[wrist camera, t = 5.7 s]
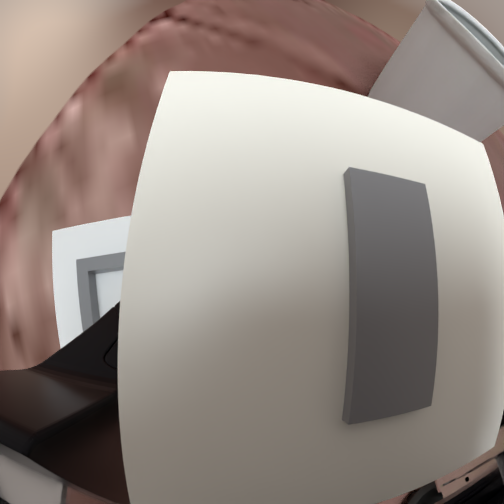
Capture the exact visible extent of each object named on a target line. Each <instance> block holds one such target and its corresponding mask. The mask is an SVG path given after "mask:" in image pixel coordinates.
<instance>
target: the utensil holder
mask: <svg viewBox="0 0 504 504" xmlns="http://www.w3.org/2000/svg"><path fill="white" fill-rule="evenodd" d="M368 97H369V98H372V99H376V100H379V101H382V102H385V103H388V104H391V105H394V106H397V107H400V108H403V109H406V110H408V111H411V112H414V113H416V114H419V115H421V116H424V117H427V118H429V119H431V120H434V121H436V122H438V123H441V124H443V125H445V126H448V127H450V128H452V129H454V130H456V131H458V132H460V133H463V134H465V135H467V136H469V137H471V138H473V139H474V140H476V141H478V142H481V141H483V140H484V139H485V138H487V137H488V136H490V135H491V134H492V133H494V132H495V131H497V130H498V129H499V128H500V127H502V126H503V125H504V47H503V46H502V45H501V44H500V42H499V41H498V40H497V39H496V38H495V37H494V36H493V35H492V34H491V33H490V32H489V31H488V30H487V29H486V28H485V27H484V26H483V25H481V24H480V23H479V22H478V21H477V20H476V19H475V18H473V17H472V16H471V15H470V14H469V13H467V12H466V11H465V10H464V9H462V8H461V7H460V6H458V5H457V4H455V3H454V2H452V1H451V0H426V5H425V7H424V8H423V10H422V11H421V13H420V14H419V16H418V18H417V19H416V20H415V22H414V23H413V25H412V26H411V28H410V29H409V31H408V32H407V34H406V35H405V37H404V38H403V40H402V42H401V43H400V45H399V46H398V48H397V49H396V51H395V52H394V54H393V55H392V57H391V58H390V60H389V61H388V63H387V64H386V66H385V68H384V69H383V71H382V72H381V74H380V75H379V77H378V79H377V80H376V82H375V83H374V85H373V87H372V88H371V90H370V92H369V95H368Z"/></svg>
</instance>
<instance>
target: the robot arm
mask: <svg viewBox="0 0 504 504" xmlns="http://www.w3.org/2000/svg"><path fill="white" fill-rule="evenodd" d="M119 312H120V301H119V302H118V303H117V304H116V305H115V307H112V308H111V309H110V310H109V311H108V312H107V313H105V314H104V315H103V316H102V317H101V318H100V319H98V320H97V321H96V322H95V323H94V324H93V325H91V326H90V327H89V328H87V329H86V330H85V331H84V332H82V333H81V334H80V335H78V336H77V337H76V338H74V339H73V340H72V341H70V342H69V343H68V344H66V345H65V346H64V347H62V348H61V349H60V350H58V351H57V352H56V353H54V354H53V355H52V356H50V357H49V358H48V359H46V360H45V361H44V362H42V363H40V364H38V365H37V366H34V367H31V368H28V369H22V370H4V371H0V504H130V500H129V494H128V489H127V483H126V476H125V470H124V462H123V454H122V445H121V435H120V422H119V406H118V330H119ZM435 483H436V487H437V490H438V493H439V492H442V495H443V498H444V499H442V500H440V501H438V502H436V503H435V504H504V411H503V415H502V420H501V424H500V428H499V432H498V435H497V439H496V442H495V446H494V447H493V448H491V449H490V450H488V451H487V452H485V453H484V454H482V455H481V456H479V457H477V458H476V459H474V460H472V461H471V462H469V463H467V464H466V465H464V466H462V467H460V468H458V469H457V470H455V471H453V472H451V473H449V474H447V475H445V476H443V477H441V478H439V479H437V480H435Z"/></svg>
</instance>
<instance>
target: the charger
mask: <svg viewBox="0 0 504 504" xmlns="http://www.w3.org/2000/svg"><path fill="white" fill-rule="evenodd" d="M118 406H119V422H120V435H121V445H122V454H123V462H124V470H125V476H126V483H127V489H128V494H129V500H130V504H376V503H379V502H382V501H385V500H388V499H391V498H394V497H397V496H399V495H402V494H405V493H407V492H410V491H412V490H415V489H417V488H419V487H422V486H424V485H426V484H428V483H431V482H433V481H435V480H437V479H439V478H441V477H443V476H445V475H447V474H449V473H451V472H453V471H455V470H457V469H458V468H460V467H462V466H464V465H466V464H467V463H469V462H471V461H472V460H474V459H476V458H477V457H479V456H481V455H482V454H484V453H485V452H487V451H488V450H490V449H491V448H493V447H494V446H495V442H496V439H497V435H498V432H499V428H500V424H501V420H502V415H503V411H504V216H503V211H502V206H501V202H500V198H499V194H498V190H497V186H496V183H495V179H494V176H493V172H492V169H491V166H490V163H489V160H488V157H487V154H486V151H485V148H484V145H483V144H482V143H480V142H478V141H476V140H474V139H473V138H471V137H469V136H467V135H465V134H463V133H460V132H458V131H456V130H454V129H452V128H450V127H448V126H445V125H443V124H441V123H438V122H436V121H434V120H431V119H429V118H427V117H424V116H421V115H419V114H416V113H414V112H411V111H408V110H406V109H403V108H400V107H397V106H394V105H391V104H388V103H385V102H382V101H379V100H376V99H372V98H369V97H365V96H362V95H358V94H355V93H351V92H347V91H343V90H339V89H335V88H330V87H326V86H321V85H316V84H311V83H306V82H301V81H295V80H289V79H282V78H276V77H268V76H260V75H251V74H240V73H226V72H205V71H170V73H169V75H168V78H167V81H166V84H165V87H164V90H163V93H162V96H161V99H160V102H159V105H158V108H157V111H156V114H155V118H154V121H153V125H152V128H151V132H150V135H149V139H148V143H147V146H146V150H145V154H144V158H143V162H142V166H141V171H140V175H139V179H138V184H137V189H136V194H135V199H134V204H133V209H132V215H131V220H130V226H129V232H128V239H127V246H126V253H125V260H124V269H123V278H122V288H121V299H120V312H119V330H118Z"/></svg>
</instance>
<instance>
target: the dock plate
mask: <svg viewBox="0 0 504 504" xmlns="http://www.w3.org/2000/svg"><path fill="white" fill-rule="evenodd" d="M130 220H131V216H126V217H120V218H115V219H109V220H104V221H99V222H93V223H88V224H83V225H78V226H73V227H69V228H64V229H59V230H55V231H53V232H52V265H53V286H54V299H55V310H56V319H57V327H58V334H59V340H60V346H61V348H62V347H64V346H65V345H66V344H68V343H69V342H70V341H72V340H73V339H74V338H76V337H77V336H78V335H80V334H81V333H82V332H84V331H85V330H86V329H87V328H89V327H90V326H91V325H93V324H94V323H95V322H96V321H97V320H98V319H100V318H101V317H102V316H103V315H104V314H105V313H107V312H108V311H109V310H110V309H111V308H112V307H115V305H116V304H117V303H118V302H119V301H120V299H121V288H122V278H123V269H124V260H125V253H126V246H127V239H128V232H129V226H130Z"/></svg>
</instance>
